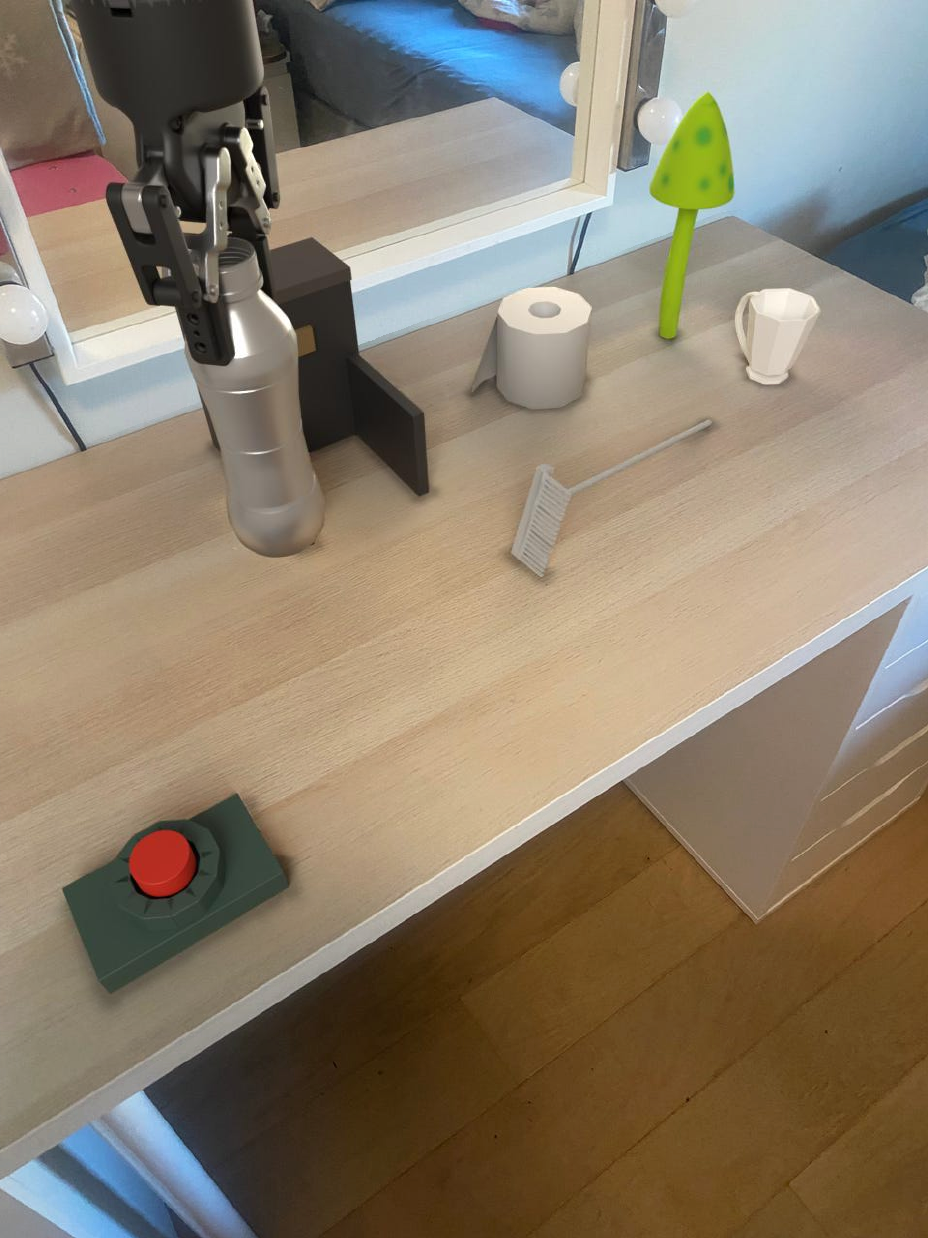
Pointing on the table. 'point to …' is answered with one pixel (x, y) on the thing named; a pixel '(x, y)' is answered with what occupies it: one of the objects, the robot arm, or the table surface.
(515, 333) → the toilet tissue
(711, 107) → the mushroom
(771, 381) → the cup
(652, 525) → the table surface
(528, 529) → the brush
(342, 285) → the dark box with flaps
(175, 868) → the stop button
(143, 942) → the control pad
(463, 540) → the table surface
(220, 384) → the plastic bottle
